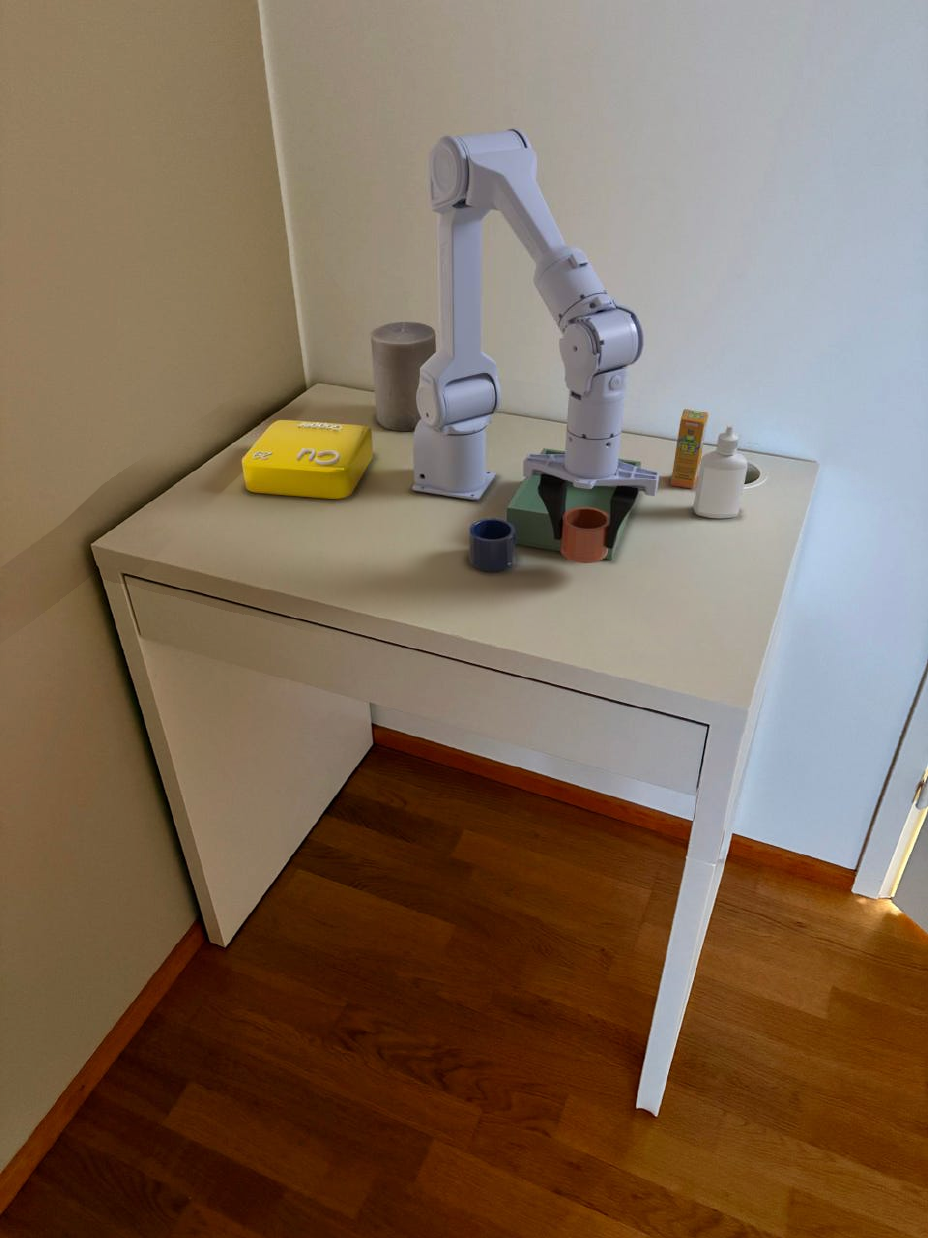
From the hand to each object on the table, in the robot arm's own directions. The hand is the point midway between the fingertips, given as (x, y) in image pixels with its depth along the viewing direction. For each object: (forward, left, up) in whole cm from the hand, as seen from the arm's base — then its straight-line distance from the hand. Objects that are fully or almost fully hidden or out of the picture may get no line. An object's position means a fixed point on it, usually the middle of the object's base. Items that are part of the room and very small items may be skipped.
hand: (584, 539), depth 104 cm
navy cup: (-11, 0, -5) cm, 12 cm away
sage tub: (-4, +13, -5) cm, 14 cm away
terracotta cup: (0, 0, -1) cm, 1 cm away
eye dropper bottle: (+13, +20, -5) cm, 24 cm away
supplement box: (+8, +27, -5) cm, 29 cm away
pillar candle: (-36, +35, -5) cm, 50 cm away
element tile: (-42, +14, -5) cm, 44 cm away
